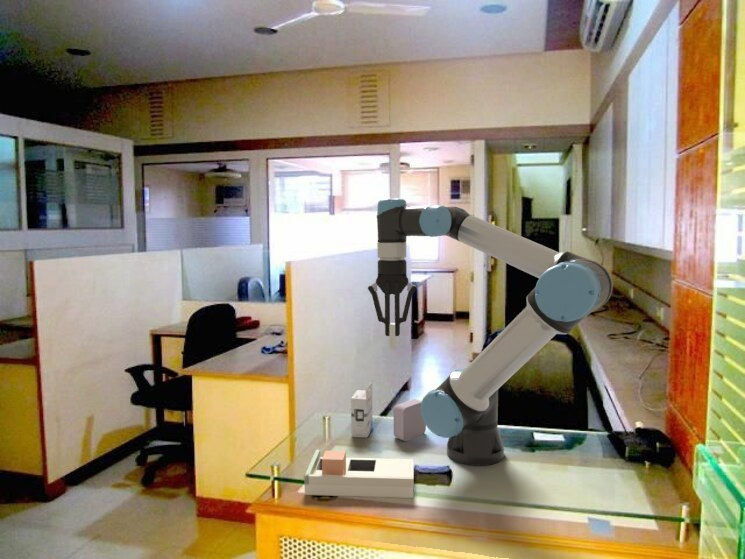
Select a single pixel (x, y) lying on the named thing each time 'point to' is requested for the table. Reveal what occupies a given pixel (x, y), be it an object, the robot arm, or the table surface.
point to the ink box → (361, 412)
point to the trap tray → (362, 478)
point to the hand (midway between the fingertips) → (392, 347)
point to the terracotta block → (334, 463)
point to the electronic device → (408, 420)
